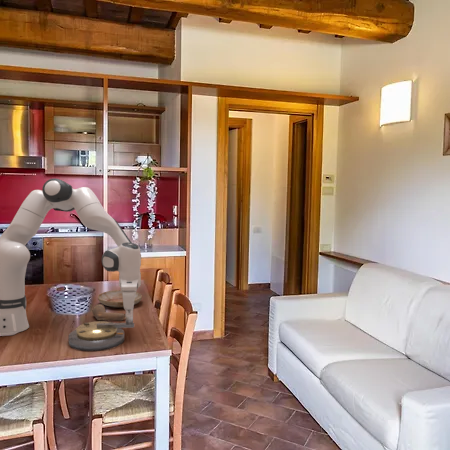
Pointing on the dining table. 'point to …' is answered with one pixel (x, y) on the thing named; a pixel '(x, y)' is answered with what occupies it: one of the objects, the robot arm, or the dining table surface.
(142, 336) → the dining table surface
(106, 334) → the round gold-topped disc
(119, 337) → the disc
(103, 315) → the pipe
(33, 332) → the dining table surface
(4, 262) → the robot arm
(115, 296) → the ceramic bowl
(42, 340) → the dining table surface
